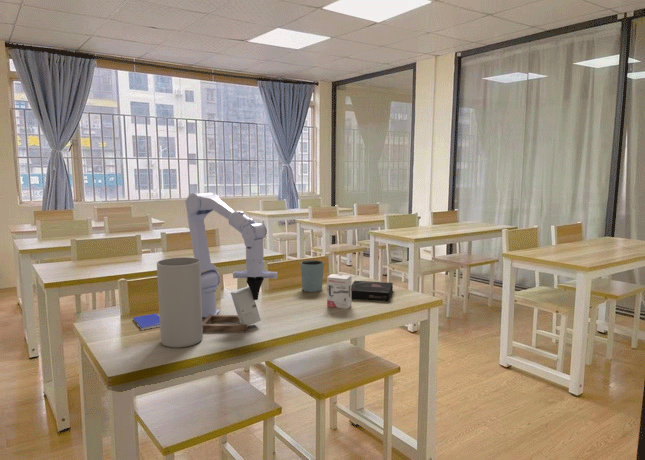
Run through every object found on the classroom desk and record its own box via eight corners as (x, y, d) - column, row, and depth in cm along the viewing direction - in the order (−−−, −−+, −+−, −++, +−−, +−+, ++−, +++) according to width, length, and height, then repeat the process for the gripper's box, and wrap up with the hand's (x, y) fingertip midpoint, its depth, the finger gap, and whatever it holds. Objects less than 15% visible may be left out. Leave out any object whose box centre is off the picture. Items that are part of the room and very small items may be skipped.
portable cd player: (392, 291, 206) (392, 282, 205) (388, 302, 189) (389, 292, 189) (354, 289, 209) (354, 280, 209) (348, 300, 193) (348, 290, 192)
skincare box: (245, 327, 157) (234, 293, 156) (240, 326, 161) (229, 292, 160) (262, 320, 160) (250, 286, 159) (256, 319, 164) (245, 286, 163)
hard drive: (166, 322, 162) (156, 313, 172) (141, 327, 157) (132, 317, 167) (167, 327, 162) (156, 317, 172) (141, 331, 157) (133, 321, 168)
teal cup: (298, 291, 203) (298, 264, 202) (303, 285, 213) (303, 259, 212) (322, 293, 202) (321, 265, 200) (325, 286, 212) (325, 260, 210)
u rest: (200, 331, 156) (199, 325, 156) (209, 320, 167) (209, 314, 167) (246, 332, 156) (246, 326, 155) (253, 320, 166) (253, 315, 166)
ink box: (326, 306, 182) (326, 276, 181) (331, 303, 187) (331, 273, 185) (347, 309, 179) (347, 278, 178) (352, 305, 184) (352, 275, 182)
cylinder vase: (179, 331, 156) (175, 256, 153) (211, 336, 151) (208, 259, 148) (151, 344, 145) (147, 263, 141) (185, 351, 140) (181, 267, 136)
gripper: (230, 261, 154) (231, 302, 156) (274, 261, 153) (275, 303, 155) (235, 257, 161) (236, 296, 163) (278, 257, 160) (278, 296, 162)
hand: (255, 299), depth 160 cm, fingers closed
